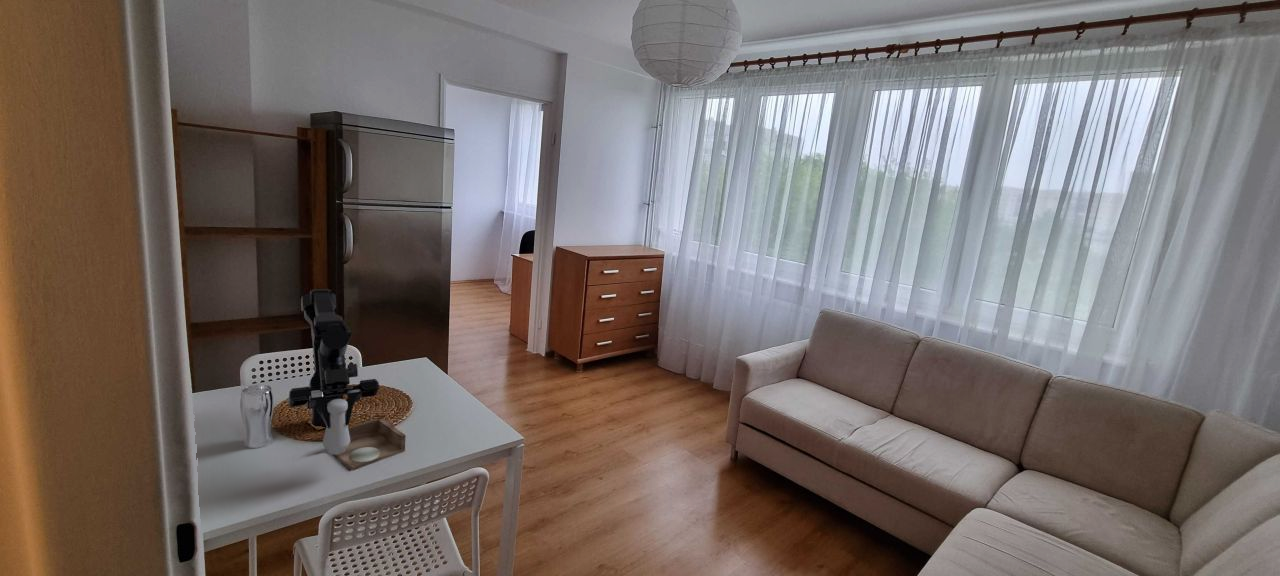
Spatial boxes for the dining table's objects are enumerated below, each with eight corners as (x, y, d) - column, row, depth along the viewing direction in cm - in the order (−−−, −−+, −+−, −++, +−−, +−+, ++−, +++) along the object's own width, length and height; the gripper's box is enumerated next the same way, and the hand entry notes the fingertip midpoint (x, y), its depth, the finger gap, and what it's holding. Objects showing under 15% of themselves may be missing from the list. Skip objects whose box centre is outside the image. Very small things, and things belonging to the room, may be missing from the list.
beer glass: (280, 440, 140) (279, 388, 136) (254, 452, 133) (252, 397, 130) (262, 433, 142) (260, 381, 138) (235, 444, 135) (232, 390, 132)
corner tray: (327, 449, 138) (327, 432, 137) (380, 432, 150) (380, 417, 149) (351, 470, 131) (351, 453, 130) (404, 451, 142) (405, 435, 141)
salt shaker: (344, 457, 126) (345, 408, 123) (318, 455, 125) (318, 406, 122) (353, 444, 131) (355, 397, 128) (329, 442, 130) (330, 395, 127)
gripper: (289, 356, 120) (293, 423, 114) (378, 349, 131) (386, 409, 125) (287, 374, 128) (291, 437, 122) (371, 366, 139) (379, 423, 133)
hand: (338, 426), depth 125 cm, fingers closed on salt shaker, 3 cm apart
